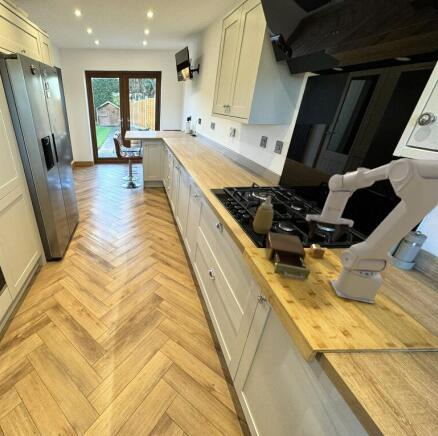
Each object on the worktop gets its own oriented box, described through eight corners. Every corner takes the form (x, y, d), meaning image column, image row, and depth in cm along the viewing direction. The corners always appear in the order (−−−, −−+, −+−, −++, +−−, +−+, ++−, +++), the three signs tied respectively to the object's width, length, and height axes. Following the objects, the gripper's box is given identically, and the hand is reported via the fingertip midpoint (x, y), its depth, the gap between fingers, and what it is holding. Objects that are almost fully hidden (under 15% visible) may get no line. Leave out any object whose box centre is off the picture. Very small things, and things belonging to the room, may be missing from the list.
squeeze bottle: (270, 230, 115) (280, 195, 107) (268, 237, 108) (278, 201, 100) (253, 226, 118) (261, 192, 110) (249, 232, 112) (258, 197, 104)
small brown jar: (318, 252, 98) (321, 244, 97) (322, 258, 94) (325, 251, 92) (308, 250, 99) (311, 243, 98) (312, 257, 95) (315, 249, 93)
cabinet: (301, 266, 89) (306, 253, 87) (268, 260, 93) (272, 248, 90) (294, 247, 101) (298, 236, 99) (265, 242, 104) (268, 231, 102)
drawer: (310, 287, 78) (314, 278, 76) (275, 280, 81) (278, 272, 79) (299, 259, 92) (301, 251, 90) (270, 254, 95) (272, 246, 93)
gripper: (353, 206, 87) (339, 237, 93) (308, 201, 92) (298, 231, 97) (361, 213, 81) (346, 246, 87) (313, 207, 86) (302, 239, 91)
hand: (321, 239), depth 92 cm, fingers open, 7 cm apart
